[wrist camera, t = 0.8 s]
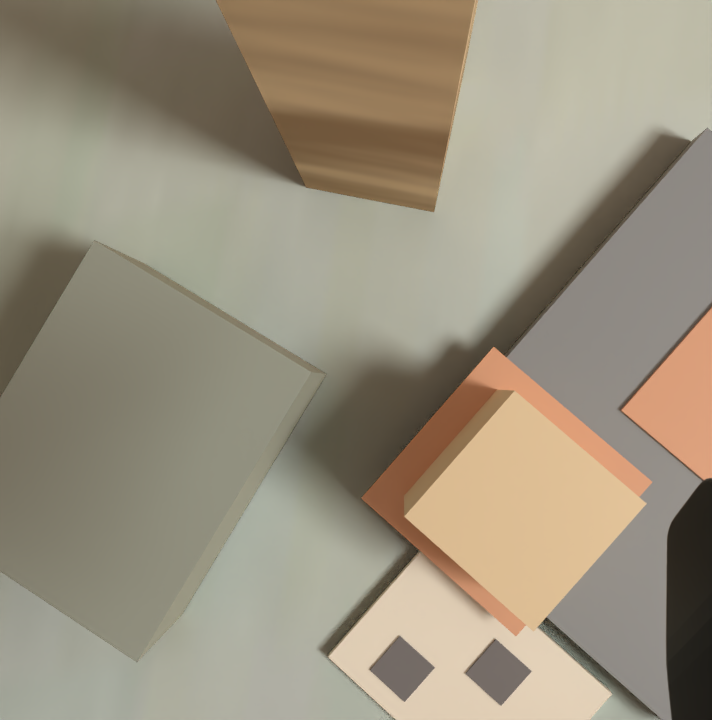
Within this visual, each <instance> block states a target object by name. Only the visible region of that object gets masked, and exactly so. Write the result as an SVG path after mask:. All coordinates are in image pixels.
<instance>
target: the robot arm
mask: <svg viewBox="0 0 712 720" xmlns="http://www.w3.org/2000/svg"><path fill="white" fill-rule="evenodd" d="M666 668H667V681H668V691H669V701H670V710H671V719H672V720H712V478H707V479H705V480H704V481H702V482H701V483H700V484H699V485H698V487H697V488H696V489H695V490H694V492H693V493H692V494H691V496H690V497H689V498H688V500H687V501H686V502H685V504H684V505H683V506H682V508H681V509H680V510H679V512H678V513H677V514H676V516H675V517H674V518H673V520H672V522H671V524H670V526H669V530H668V534H667V565H666Z"/></svg>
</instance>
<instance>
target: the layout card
mask: <svg viewBox="0 0 712 720" xmlns="http://www.w3.org/2000/svg"><path fill="white" fill-rule="evenodd" d="M328 658H330V659H331V660H332V661H333V662H334V663H335V664H336V665H337V666H338V667H339V668H340V669H341V670H343V671H344V672H345V673H346V674H347V675H348V676H349V677H350V678H351V679H352V680H353V681H354V682H356V683H357V684H358V685H359V686H360V687H361V688H362V689H363V690H364V691H365V692H366V693H367V694H369V695H370V696H371V697H372V698H373V699H374V700H375V701H376V702H377V703H378V704H379V705H380V706H382V707H383V708H384V709H385V710H386V711H387V712H388V713H389V714H390V715H391V716H392V717H393V718H395V719H396V720H590V718H591V717H592V716H593V715H594V714H595V713H596V712H597V711H598V709H599V708H600V707H601V706H602V705H603V704H604V703H605V702H606V700H607V699H608V698H609V697H610V696H611V695H612V693H611V691H610V690H609V689H608V688H607V687H606V686H605V685H604V684H603V683H601V682H600V681H599V680H598V679H597V678H596V677H595V676H594V675H592V674H591V673H590V672H589V671H588V670H587V669H586V668H585V667H583V666H582V665H581V664H580V663H579V662H578V661H577V660H576V659H574V658H573V657H572V656H571V655H570V654H569V653H568V652H567V651H565V650H564V649H563V648H562V647H561V646H560V645H559V644H557V643H556V642H555V641H554V640H553V639H552V638H551V637H550V636H548V635H547V634H546V633H545V632H544V631H543V630H542V629H541V628H539V627H537V628H536V629H535V631H534V632H533V631H532V630H531V629H530V628H529V627H528V626H527V625H526V626H525V627H524V628H523V629H522V630H521V631H520V633H519V634H518V635H517V636H515V635H514V634H513V633H511V632H510V631H509V630H508V629H507V628H506V627H505V626H504V625H502V624H501V623H500V622H499V621H498V620H497V619H496V618H495V617H494V616H492V615H491V614H490V613H489V612H488V611H487V610H486V609H485V608H483V607H482V606H481V605H480V604H479V603H478V602H477V601H476V600H474V599H473V598H472V597H471V596H470V595H469V594H468V593H467V592H466V591H464V590H463V589H462V588H461V587H460V586H459V585H458V584H457V583H455V582H454V581H453V580H452V579H451V578H450V577H449V576H448V575H446V574H445V573H444V572H443V571H442V570H441V569H440V568H439V567H438V566H436V565H435V564H434V563H433V562H432V561H431V560H430V559H429V558H427V557H426V556H425V555H424V554H423V553H422V552H421V551H420V550H419V552H418V553H417V554H416V555H415V556H414V557H413V558H412V559H411V561H410V562H409V563H408V564H407V565H406V566H405V567H404V569H403V570H402V571H401V572H400V573H399V574H398V575H397V577H396V578H395V579H394V580H393V581H392V582H391V583H390V585H389V586H388V587H387V588H386V589H385V590H384V591H383V593H382V594H381V595H380V596H379V597H378V598H377V599H376V600H375V602H374V603H373V604H372V605H371V606H370V607H369V608H368V610H367V611H366V612H365V613H364V614H363V615H362V616H361V618H360V619H359V620H358V621H357V622H356V623H355V624H354V626H353V627H352V628H351V629H350V630H349V631H348V632H347V634H346V635H345V636H344V637H343V638H342V639H341V640H340V641H339V643H338V644H337V645H336V646H335V647H334V648H333V649H332V651H331V652H330V653H329V656H328Z"/></svg>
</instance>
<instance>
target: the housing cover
mask: <svg viewBox="0 0 712 720" xmlns="http://www.w3.org/2000/svg"><path fill="white" fill-rule="evenodd" d="M325 376H326V373H324V372H322V371H321V370H319V369H317V368H316V367H314V366H313V365H311V364H309V363H308V362H306V361H304V360H303V359H301V358H299V357H298V356H296V355H294V354H293V353H291V352H289V351H288V350H286V349H284V348H283V347H281V346H280V345H278V344H276V343H275V342H273V341H271V340H270V339H268V338H266V337H265V336H263V335H261V334H260V333H258V332H256V331H255V330H253V329H252V328H250V327H248V326H247V325H245V324H243V323H242V322H240V321H238V320H237V319H235V318H233V317H232V316H230V315H228V314H227V313H225V312H223V311H222V310H220V309H219V308H217V307H215V306H214V305H212V304H210V303H209V302H207V301H205V300H204V299H202V298H200V297H199V296H197V295H195V294H194V293H192V292H191V291H189V290H187V289H186V288H184V287H182V286H181V285H179V284H177V283H176V282H174V281H172V280H171V279H169V278H167V277H166V276H164V275H162V274H161V273H159V272H158V271H156V270H154V269H153V268H151V267H149V266H148V265H146V264H144V263H142V262H140V261H138V260H136V259H133V258H131V257H129V256H127V255H125V254H123V253H121V252H118V251H116V250H114V249H112V248H110V247H108V246H106V245H103V244H101V243H99V242H97V241H95V240H94V242H93V243H92V245H91V247H90V248H89V250H88V252H87V253H86V255H85V257H84V258H83V260H82V262H81V263H80V265H79V267H78V268H77V270H76V272H75V273H74V275H73V277H72V278H71V280H70V282H69V283H68V285H67V287H66V288H65V290H64V292H63V293H62V295H61V297H60V298H59V300H58V302H57V303H56V305H55V307H54V308H53V310H52V312H51V313H50V315H49V317H48V318H47V320H46V322H45V323H44V325H43V327H42V328H41V330H40V332H39V333H38V335H37V337H36V338H35V340H34V342H33V343H32V345H31V347H30V348H29V350H28V352H27V353H26V355H25V357H24V359H23V360H22V362H21V364H20V365H19V367H18V369H17V370H16V372H15V374H14V375H13V377H12V379H11V380H10V382H9V384H8V385H7V387H6V389H5V390H4V392H3V394H2V395H1V397H0V571H1V572H2V573H4V574H5V575H7V576H8V577H10V578H11V579H13V580H14V581H16V582H17V583H19V584H20V585H22V586H23V587H25V588H26V589H28V590H29V591H31V592H32V593H34V594H35V595H37V596H38V597H40V598H41V599H43V600H44V601H46V602H47V603H49V604H50V605H52V606H53V607H55V608H56V609H58V610H59V611H61V612H62V613H64V614H65V615H67V616H68V617H70V618H71V619H73V620H74V621H76V622H77V623H79V624H80V625H82V626H83V627H85V628H86V629H88V630H89V631H91V632H92V633H94V634H95V635H97V636H98V637H100V638H101V639H103V640H104V641H106V642H107V643H109V644H110V645H112V646H113V647H115V648H116V649H118V650H119V651H121V652H122V653H124V654H125V655H127V656H128V657H130V658H131V659H133V660H134V661H136V662H138V661H139V660H140V659H141V658H142V657H143V655H144V654H145V653H146V652H147V651H148V650H149V649H150V648H151V647H152V646H153V645H154V644H155V643H156V642H157V641H158V640H159V639H160V638H161V636H162V635H163V634H164V633H165V632H166V631H167V630H168V629H169V628H170V627H171V626H172V625H173V624H174V623H175V622H176V621H177V620H178V619H179V617H180V616H181V615H182V614H183V612H184V610H185V609H186V607H187V605H188V604H189V602H190V600H191V599H192V597H193V595H194V594H195V592H196V591H197V589H198V587H199V586H200V584H201V582H202V581H203V579H204V577H205V576H206V574H207V572H208V571H209V569H210V567H211V566H212V564H213V562H214V561H215V559H216V557H217V556H218V554H219V552H220V551H221V549H222V547H223V546H224V544H225V542H226V541H227V539H228V537H229V536H230V534H231V532H232V531H233V529H234V527H235V526H236V524H237V522H238V521H239V519H240V517H241V516H242V514H243V512H244V511H245V509H246V507H247V506H248V504H249V502H250V501H251V499H252V497H253V496H254V494H255V492H256V491H257V489H258V487H259V486H260V484H261V482H262V481H263V479H264V477H265V476H266V474H267V472H268V471H269V469H270V467H271V466H272V464H273V462H274V461H275V459H276V457H277V456H278V454H279V452H280V451H281V449H282V448H283V446H284V444H285V443H286V441H287V439H288V438H289V436H290V434H291V433H292V431H293V429H294V428H295V426H296V424H297V423H298V421H299V419H300V418H301V416H302V414H303V413H304V411H305V409H306V408H307V406H308V404H309V403H310V401H311V399H312V398H313V396H314V394H315V393H316V391H317V389H318V388H319V386H320V384H321V383H322V381H323V379H324V378H325Z"/></svg>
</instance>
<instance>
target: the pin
mask: <svg viewBox="0 0 712 720" xmlns="http://www.w3.org/2000/svg"><path fill="white" fill-rule="evenodd" d="M216 1H217V3H218V5H219V8H220V10H221V12H222V14H223V16H224V18H225V20H226V22H227V24H228V26H229V28H230V30H231V32H232V34H233V37H234V39H235V41H236V43H237V45H238V47H239V49H240V51H241V53H242V55H243V57H244V59H245V61H246V64H247V66H248V68H249V70H250V72H251V74H252V76H253V78H254V80H255V82H256V84H257V86H258V88H259V90H260V93H261V95H262V97H263V99H264V101H265V103H266V105H267V107H268V109H269V111H270V113H271V115H272V117H273V120H274V122H275V124H276V126H277V128H278V130H279V132H280V134H281V136H282V138H283V140H284V142H285V144H286V146H287V149H288V151H289V153H290V155H291V157H292V159H293V161H294V163H295V165H296V167H297V169H298V171H299V173H300V176H301V178H302V180H303V182H304V184H305V186H306V187H307V188H312V189H317V190H323V191H328V192H333V193H338V194H343V195H348V196H354V197H359V198H364V199H369V200H374V201H380V202H385V203H390V204H395V205H400V206H405V207H411V208H416V209H421V210H426V211H431V212H434V210H435V205H436V200H437V196H438V191H439V186H440V181H441V177H442V172H443V167H444V163H445V158H446V153H447V148H448V144H449V139H450V134H451V130H452V125H453V120H454V116H455V111H456V106H457V101H458V97H459V92H460V87H461V83H462V78H463V73H464V68H465V63H466V58H467V53H468V48H469V43H470V38H471V33H472V28H473V23H474V18H475V13H476V8H477V3H478V0H216Z"/></svg>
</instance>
